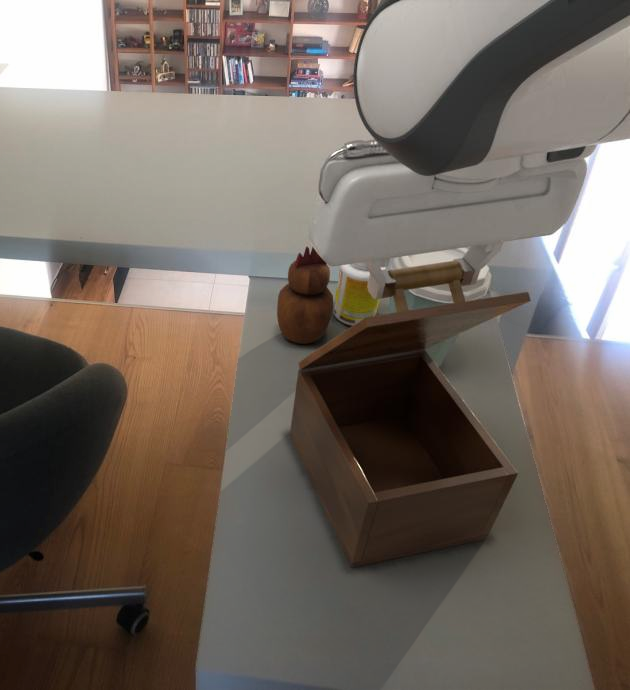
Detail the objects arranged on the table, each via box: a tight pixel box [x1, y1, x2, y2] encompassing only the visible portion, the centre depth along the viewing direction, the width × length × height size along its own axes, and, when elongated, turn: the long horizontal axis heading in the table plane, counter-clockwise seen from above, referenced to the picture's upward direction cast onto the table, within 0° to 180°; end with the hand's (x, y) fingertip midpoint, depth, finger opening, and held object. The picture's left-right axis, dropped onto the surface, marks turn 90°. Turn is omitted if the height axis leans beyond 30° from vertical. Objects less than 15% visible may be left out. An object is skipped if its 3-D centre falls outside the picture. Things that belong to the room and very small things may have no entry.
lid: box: [297, 261, 532, 370], centre depth 63 cm, size 18×14×5 cm
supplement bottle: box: [333, 262, 387, 327], centre depth 89 cm, size 6×6×10 cm
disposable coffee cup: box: [388, 247, 493, 368], centre depth 81 cm, size 11×11×15 cm
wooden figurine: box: [276, 246, 334, 345], centre depth 84 cm, size 7×6×15 cm
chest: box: [289, 349, 519, 568], centre depth 68 cm, size 17×14×10 cm
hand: (421, 287), depth 57 cm, fingers closed on lid, 6 cm apart
